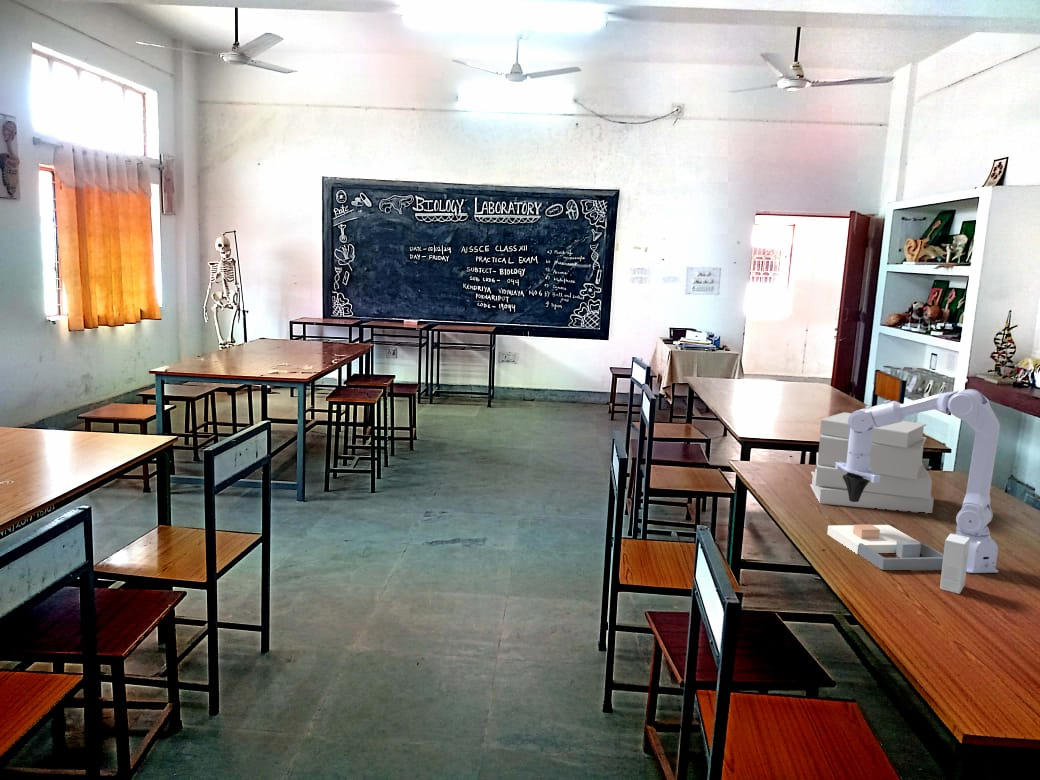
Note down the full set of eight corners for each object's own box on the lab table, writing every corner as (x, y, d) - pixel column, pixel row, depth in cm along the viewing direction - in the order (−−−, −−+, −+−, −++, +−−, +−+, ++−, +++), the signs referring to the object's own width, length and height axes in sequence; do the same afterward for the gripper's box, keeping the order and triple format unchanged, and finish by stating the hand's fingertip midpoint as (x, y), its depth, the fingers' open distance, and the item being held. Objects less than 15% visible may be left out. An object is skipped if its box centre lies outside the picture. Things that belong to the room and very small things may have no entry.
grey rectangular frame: (949, 569, 184) (950, 558, 184) (882, 571, 182) (883, 559, 182) (921, 553, 195) (922, 542, 194) (857, 554, 193) (859, 543, 192)
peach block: (878, 538, 198) (879, 529, 198) (861, 538, 197) (862, 529, 197) (870, 533, 202) (871, 524, 201) (852, 533, 201) (853, 524, 201)
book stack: (940, 519, 224) (951, 435, 220) (817, 507, 232) (824, 426, 228) (913, 491, 253) (921, 416, 249) (804, 481, 261) (810, 409, 257)
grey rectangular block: (912, 555, 194) (919, 559, 191) (895, 555, 193) (901, 559, 191) (914, 540, 193) (921, 544, 191) (896, 541, 192) (903, 544, 190)
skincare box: (944, 581, 177) (950, 532, 175) (964, 586, 175) (970, 537, 173) (938, 589, 173) (944, 539, 171) (959, 594, 170) (966, 544, 168)
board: (922, 553, 195) (923, 544, 195) (857, 554, 193) (858, 545, 193) (887, 533, 210) (888, 524, 209) (827, 534, 208) (828, 525, 207)
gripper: (891, 458, 198) (885, 508, 200) (851, 446, 211) (847, 492, 213) (869, 460, 195) (864, 510, 198) (831, 447, 209) (826, 494, 211)
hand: (854, 501), depth 205 cm, fingers closed
